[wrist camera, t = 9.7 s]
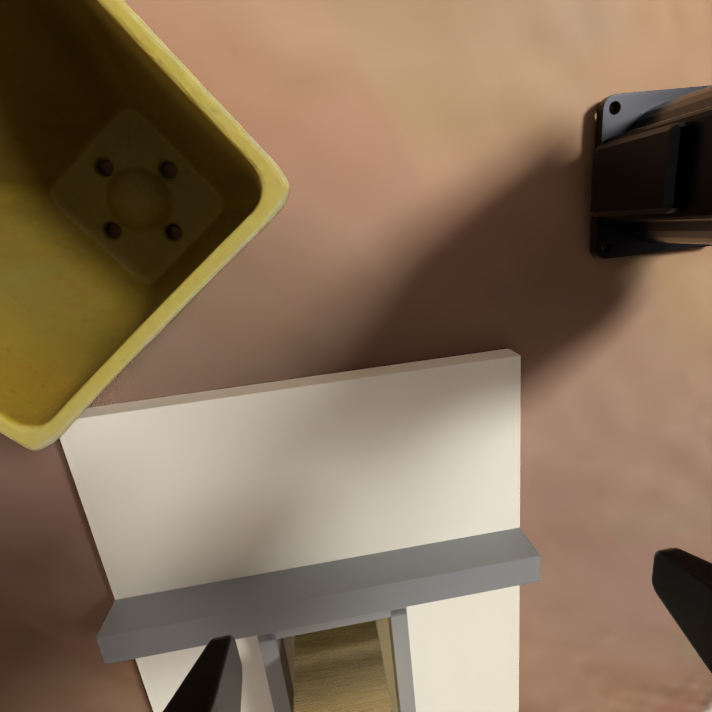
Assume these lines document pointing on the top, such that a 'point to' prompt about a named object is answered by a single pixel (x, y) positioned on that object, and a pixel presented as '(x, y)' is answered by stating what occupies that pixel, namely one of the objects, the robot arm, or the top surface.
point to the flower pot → (106, 202)
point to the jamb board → (317, 527)
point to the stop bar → (340, 671)
